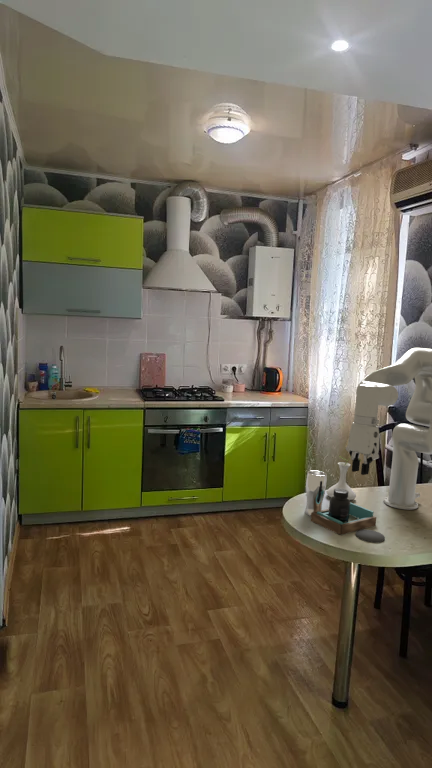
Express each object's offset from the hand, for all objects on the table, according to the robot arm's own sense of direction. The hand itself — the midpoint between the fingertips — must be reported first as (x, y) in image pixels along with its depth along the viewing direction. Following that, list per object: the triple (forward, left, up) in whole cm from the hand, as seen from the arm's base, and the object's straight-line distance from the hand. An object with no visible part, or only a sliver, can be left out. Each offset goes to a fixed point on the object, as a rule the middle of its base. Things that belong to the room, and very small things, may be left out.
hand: (359, 472), depth 179 cm
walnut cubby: (+6, 0, -17) cm, 18 cm away
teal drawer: (+6, 0, -17) cm, 18 cm away
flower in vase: (-15, -18, -17) cm, 29 cm away
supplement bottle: (+9, 0, -17) cm, 20 cm away
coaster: (+7, +12, -17) cm, 22 cm away
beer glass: (+9, -11, -17) cm, 23 cm away
